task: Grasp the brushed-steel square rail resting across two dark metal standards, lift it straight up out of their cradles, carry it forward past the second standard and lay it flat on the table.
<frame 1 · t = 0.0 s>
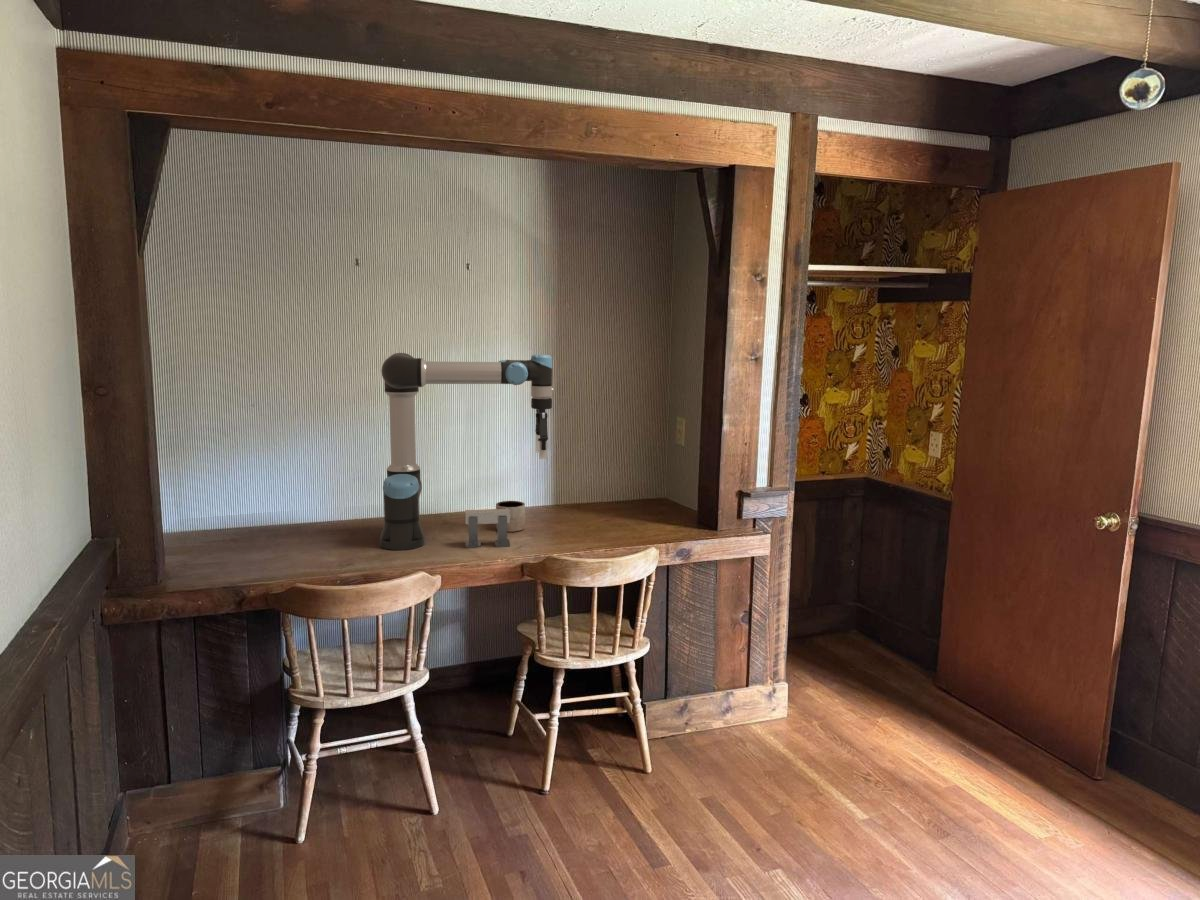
hand: (541, 455, 290), 28 cm above the table, fingers open, 13 cm apart
standard 1: (473, 545, 273), on the table
planter: (510, 529, 295), on the table
rail: (487, 522, 273), point 8 cm above the table, touching standard 2, standard 1
standard 2: (502, 544, 275), on the table
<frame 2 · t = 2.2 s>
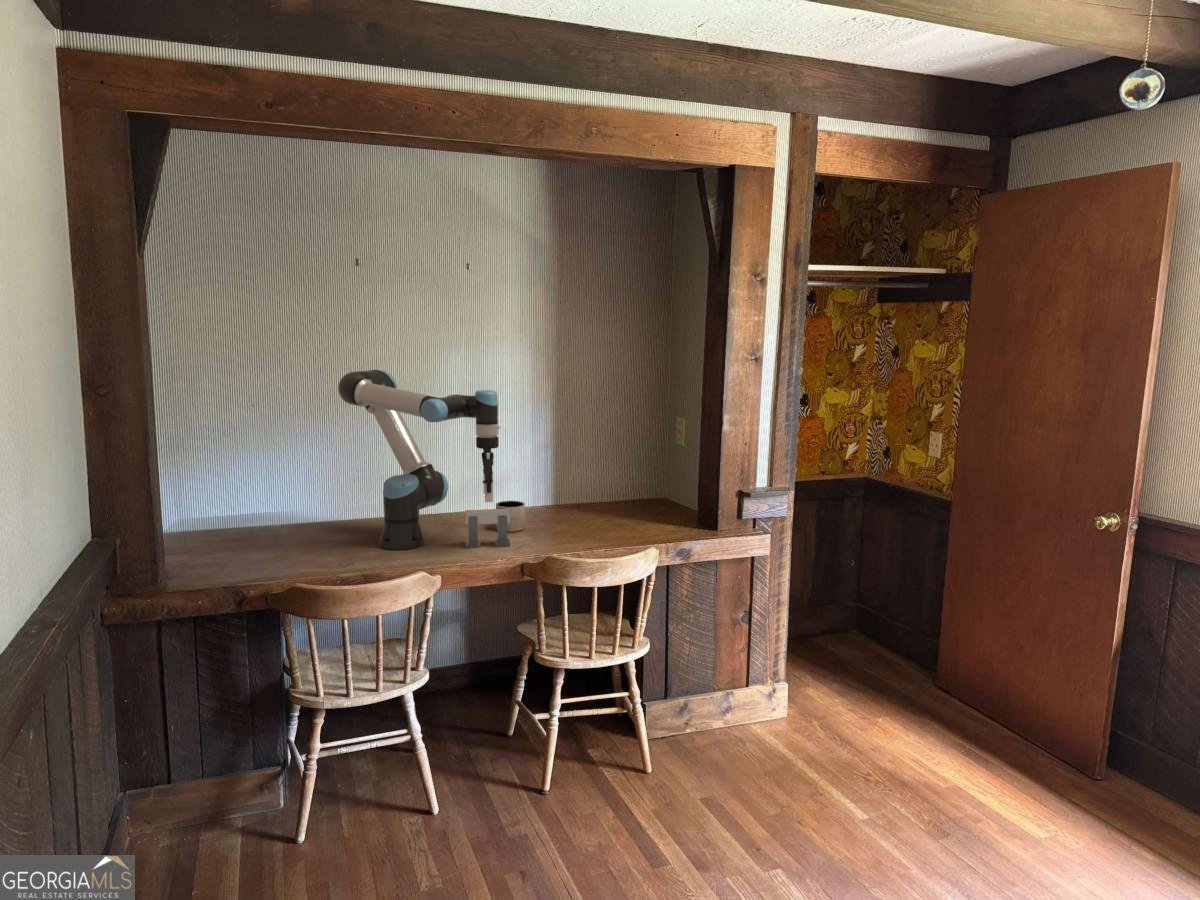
hand: (488, 497, 271), 17 cm above the table, fingers open, 13 cm apart
nothing on the table moved.
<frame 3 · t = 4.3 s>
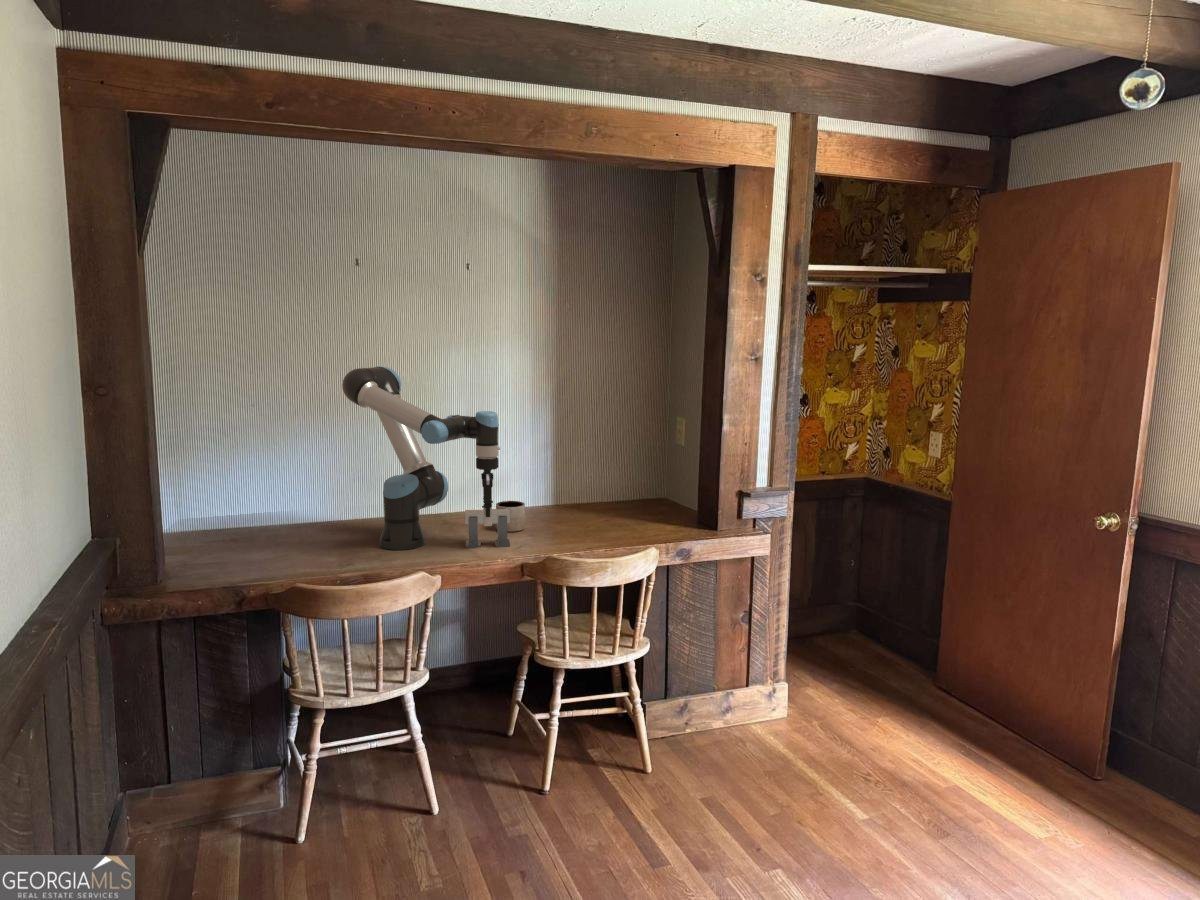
hand: (487, 523, 273), 7 cm above the table, fingers closed on rail, 4 cm apart
rail: (487, 522, 273), point 8 cm above the table, touching gripper
everything else where it was.
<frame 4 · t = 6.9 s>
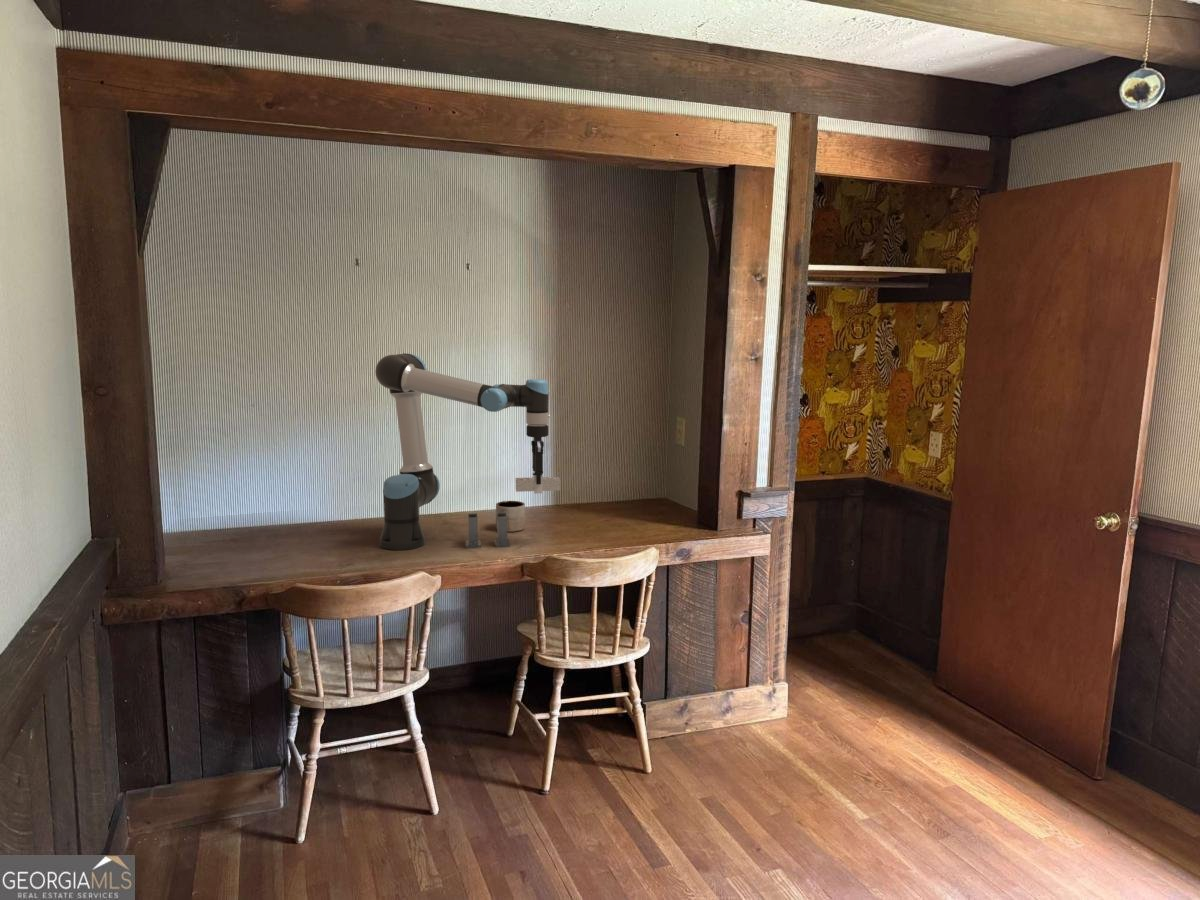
hand: (537, 491, 274), 18 cm above the table, fingers closed on rail, 4 cm apart
rail: (537, 489, 274), point 19 cm above the table, touching gripper
everything else where it was.
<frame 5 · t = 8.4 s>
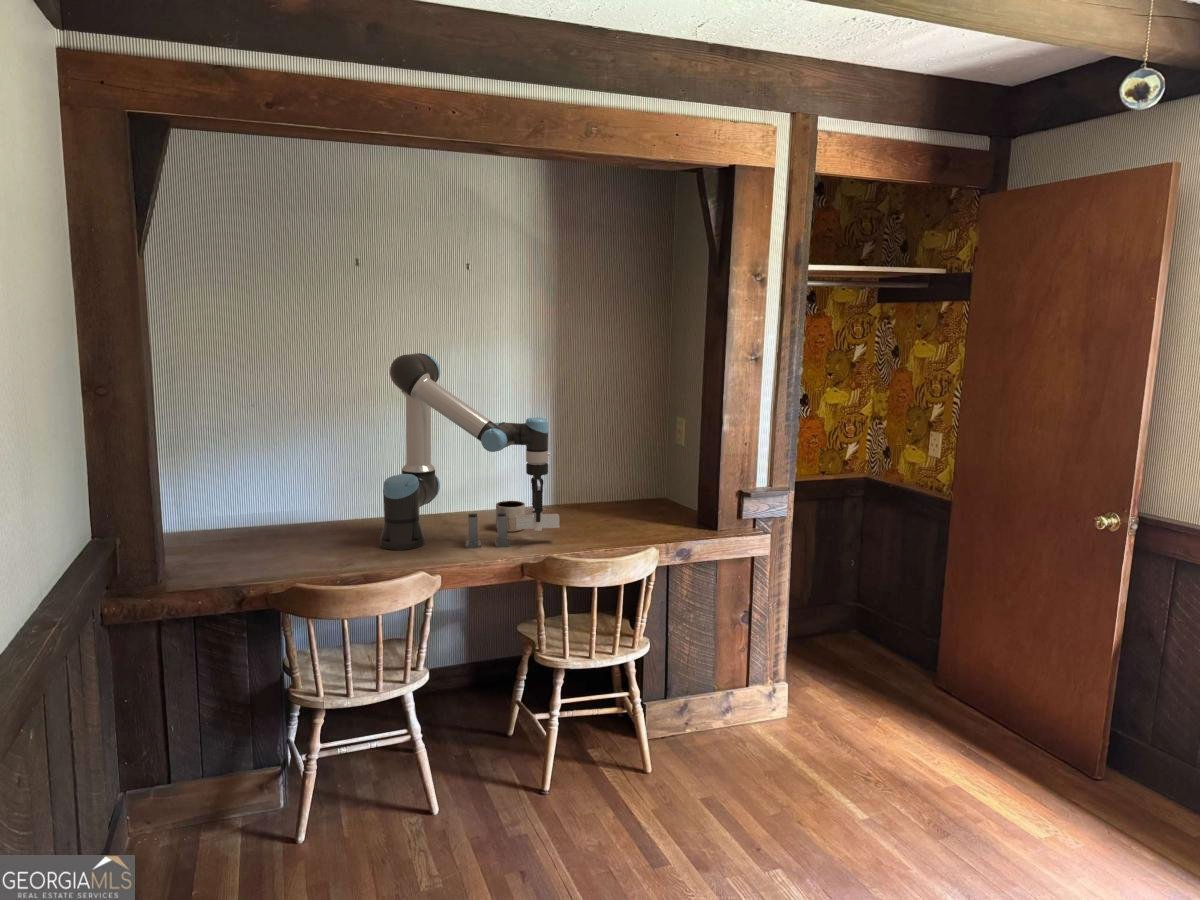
hand: (537, 528, 276), 5 cm above the table, fingers closed on rail, 4 cm apart
rail: (537, 526, 276), point 6 cm above the table, touching gripper
everything else where it was.
when the fingers open (2 cm above the table, at t = 9.7 s): rail drops 3 cm, on the table.
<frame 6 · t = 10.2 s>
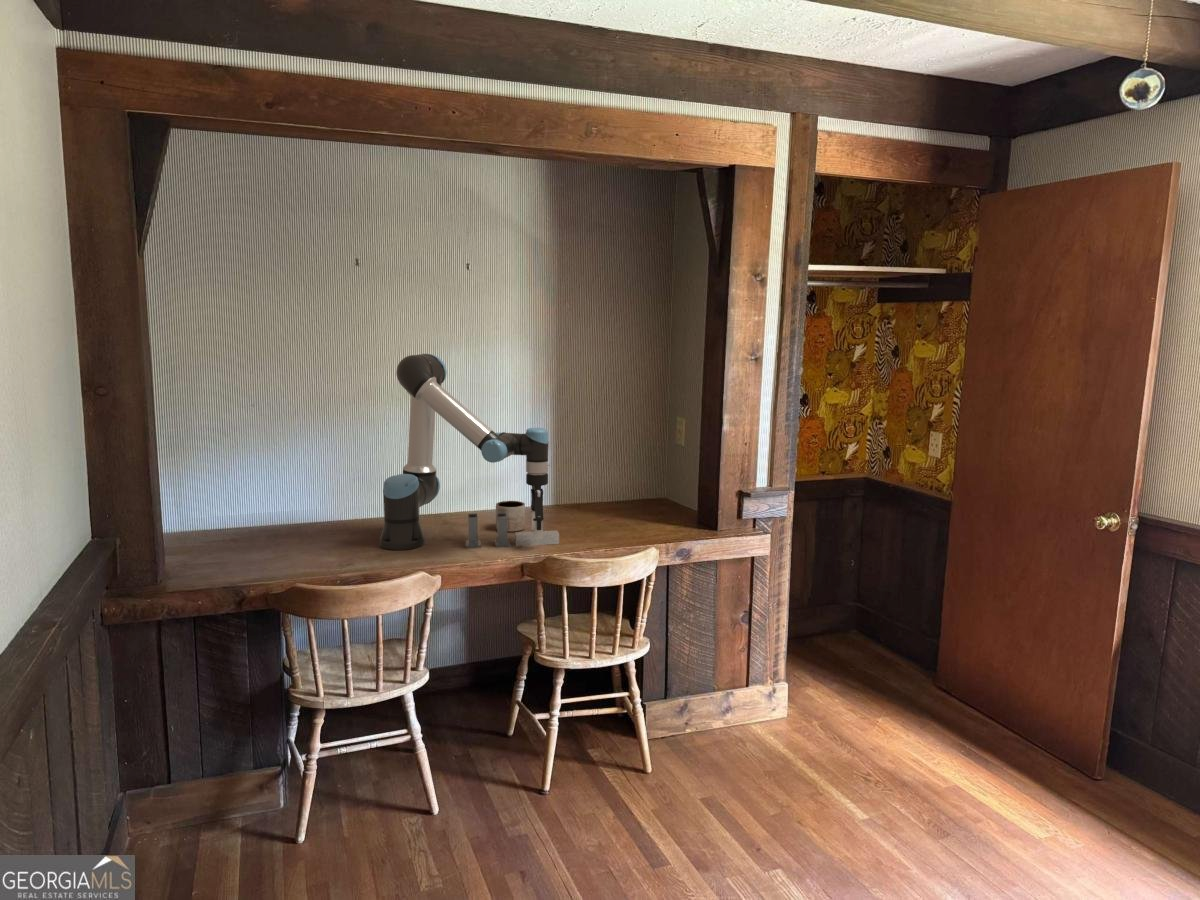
hand: (536, 533, 277), 3 cm above the table, fingers open, 12 cm apart
rail: (536, 543, 277), on the table
everything else where it was.
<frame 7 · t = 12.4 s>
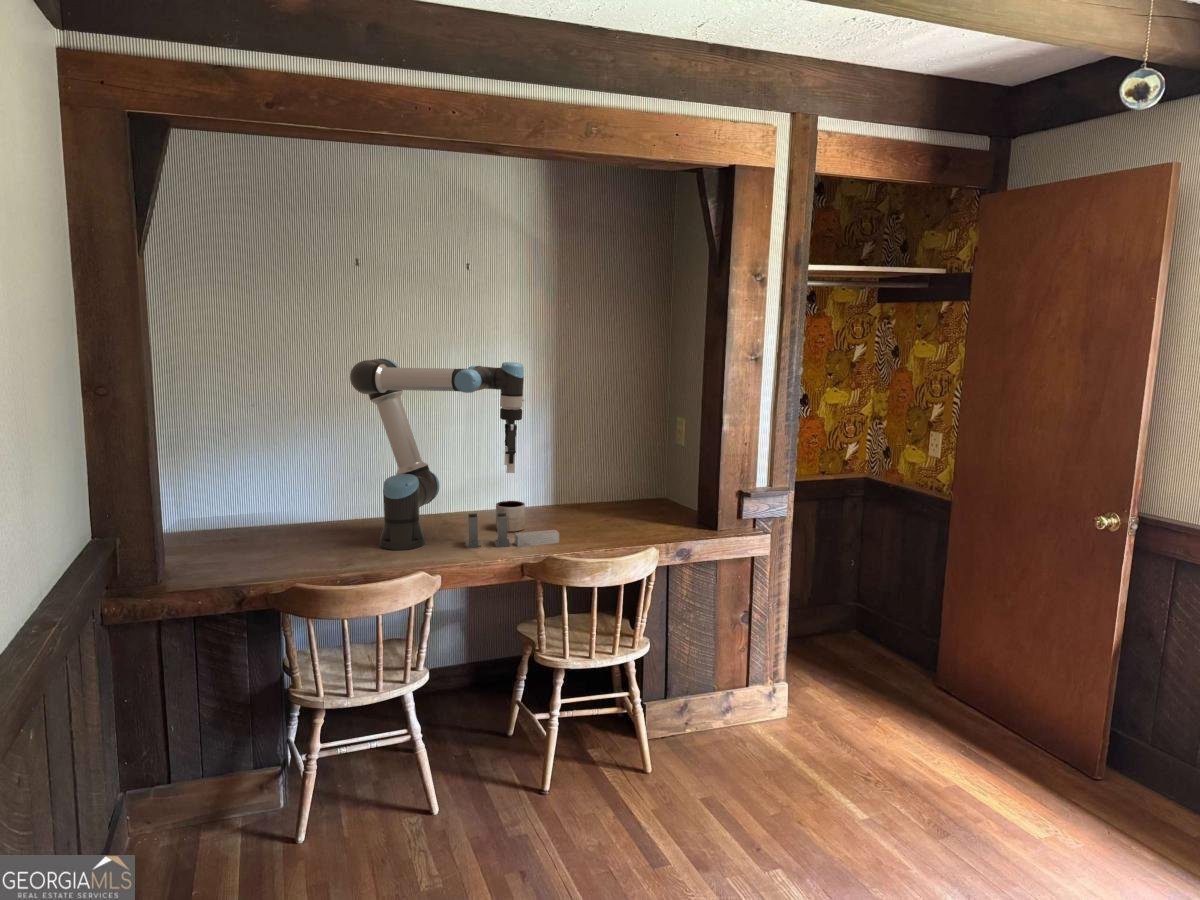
hand: (509, 468, 275), 26 cm above the table, fingers open, 13 cm apart
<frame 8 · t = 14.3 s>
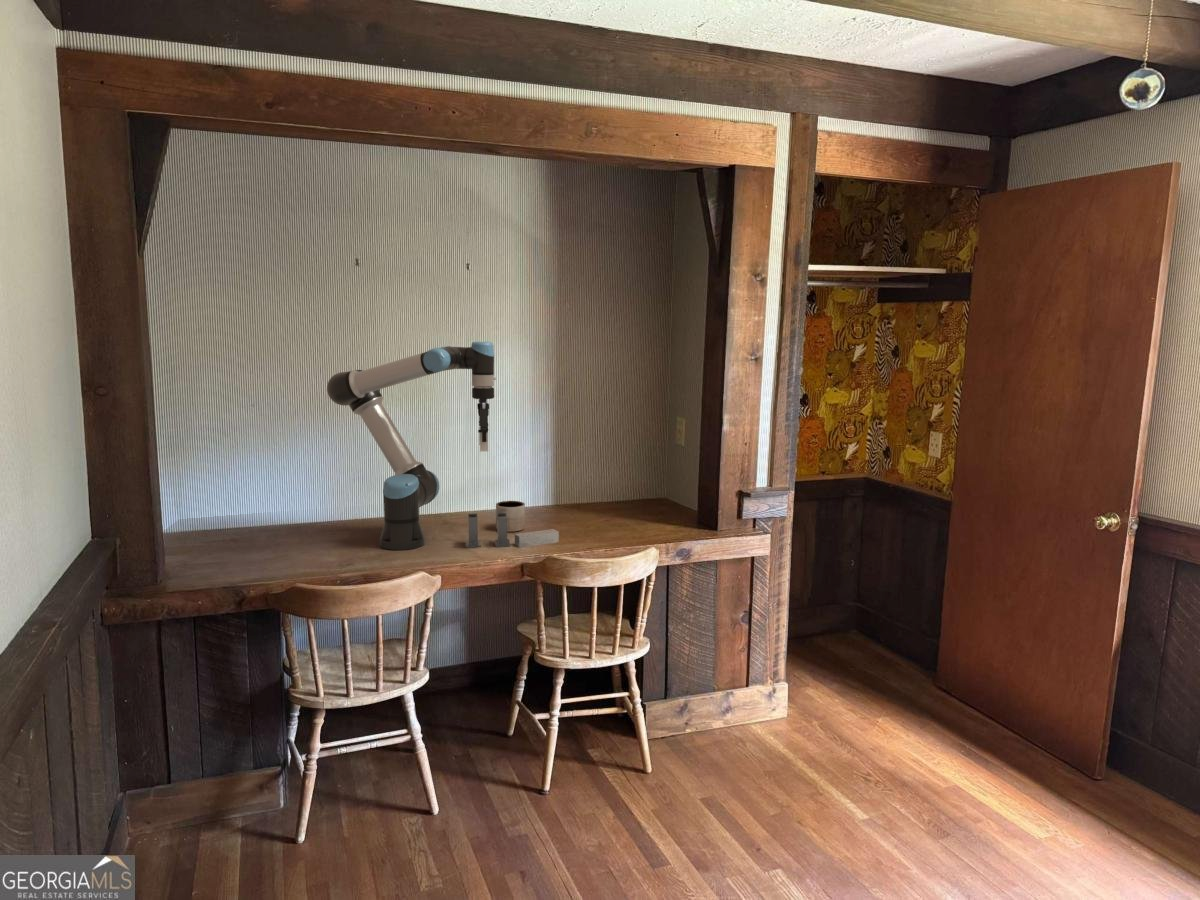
hand: (483, 448, 276), 33 cm above the table, fingers open, 13 cm apart
at the end: rail inside the target area (0.5 cm from its centre), on the table; rail touching table; the gripper is holding nothing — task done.
